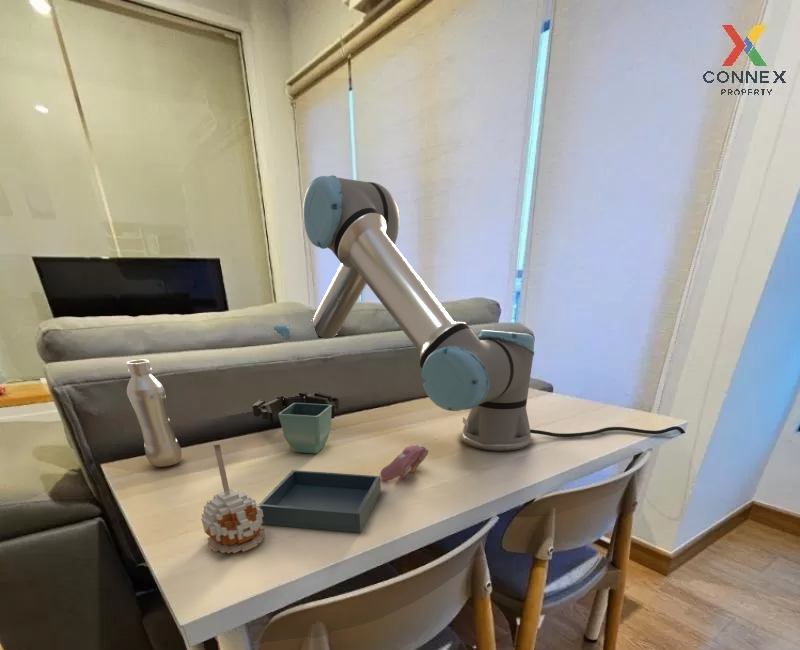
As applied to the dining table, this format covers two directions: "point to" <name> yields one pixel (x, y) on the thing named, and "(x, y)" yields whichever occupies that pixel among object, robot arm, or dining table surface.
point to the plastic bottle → (152, 415)
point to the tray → (322, 501)
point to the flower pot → (306, 426)
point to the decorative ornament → (232, 517)
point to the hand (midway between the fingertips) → (302, 415)
